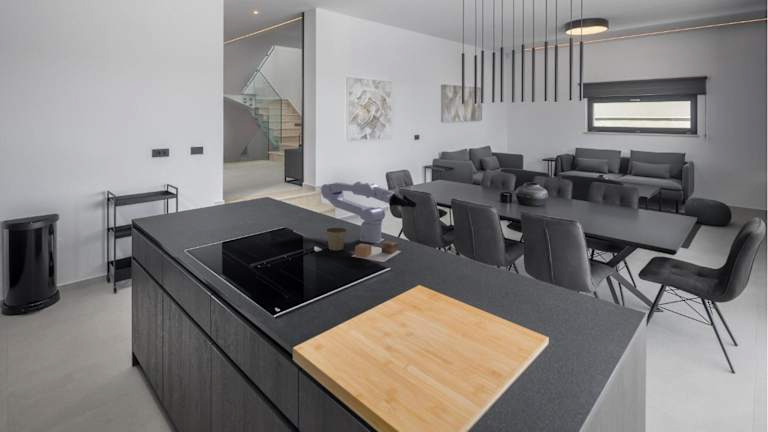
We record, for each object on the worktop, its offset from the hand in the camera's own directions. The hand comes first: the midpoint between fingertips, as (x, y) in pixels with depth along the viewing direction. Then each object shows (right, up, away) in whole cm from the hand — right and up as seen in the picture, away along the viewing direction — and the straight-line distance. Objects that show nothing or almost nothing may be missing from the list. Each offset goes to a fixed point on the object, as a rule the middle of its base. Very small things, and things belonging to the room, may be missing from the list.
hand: (411, 204), depth 186 cm
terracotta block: (-20, -21, -7) cm, 30 cm away
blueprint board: (-15, -21, -4) cm, 26 cm away
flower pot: (-33, -20, +2) cm, 38 cm away
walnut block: (-10, -20, -1) cm, 23 cm away
